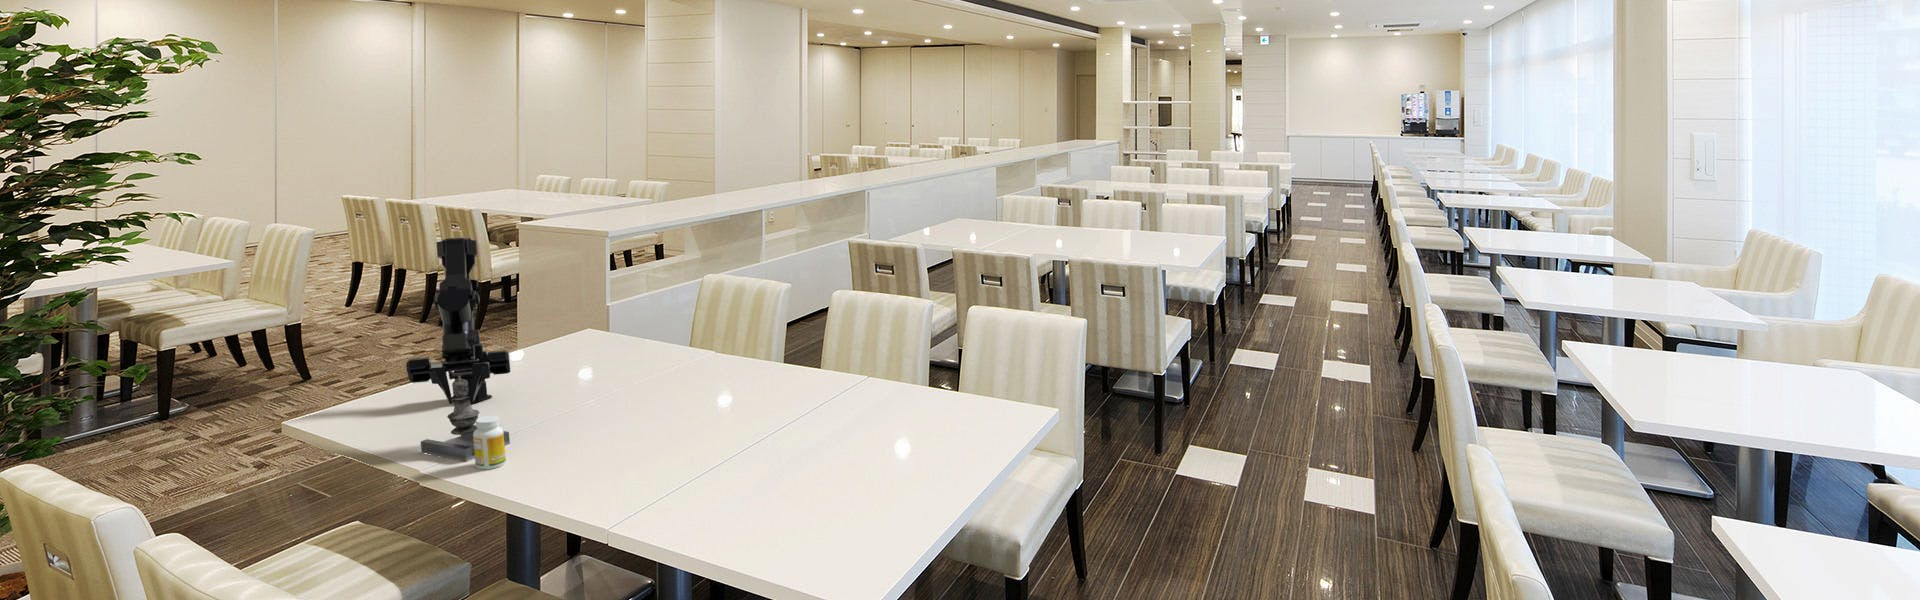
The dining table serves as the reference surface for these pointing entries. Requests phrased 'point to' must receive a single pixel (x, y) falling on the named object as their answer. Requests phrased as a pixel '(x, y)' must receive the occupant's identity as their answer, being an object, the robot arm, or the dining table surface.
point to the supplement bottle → (489, 443)
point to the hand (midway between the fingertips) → (461, 401)
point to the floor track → (455, 447)
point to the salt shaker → (462, 409)
